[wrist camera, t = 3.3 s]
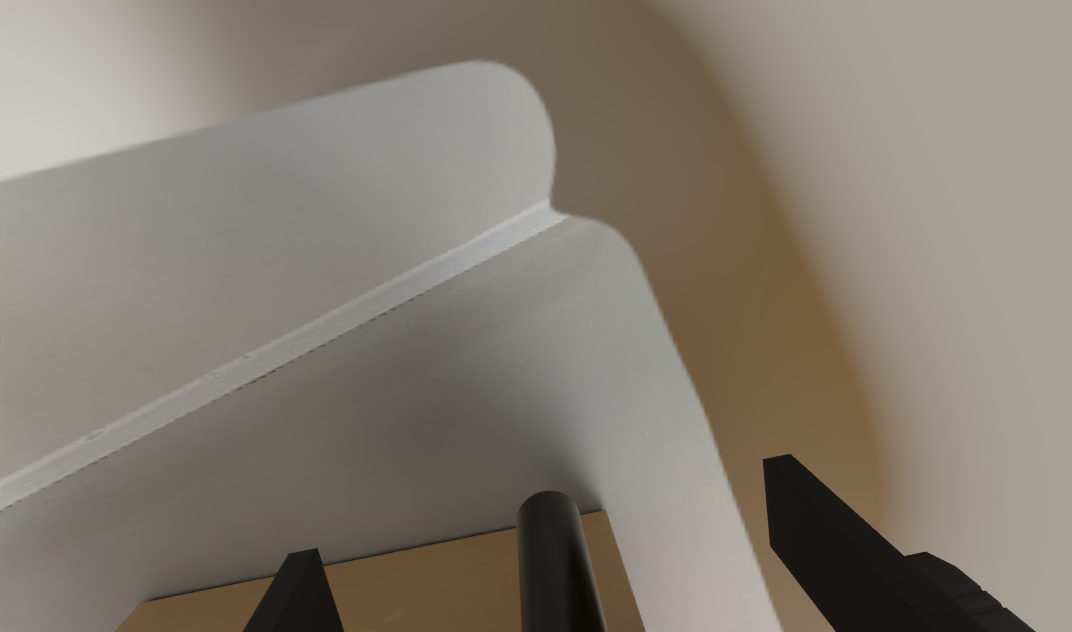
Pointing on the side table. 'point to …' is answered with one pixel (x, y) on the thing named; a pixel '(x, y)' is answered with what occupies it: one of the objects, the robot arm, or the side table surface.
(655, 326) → the side table surface
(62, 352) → the side table surface
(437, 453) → the side table surface
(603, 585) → the cabinet door
